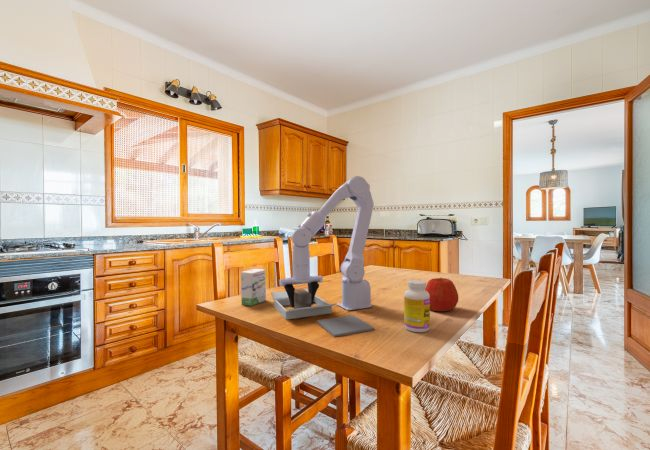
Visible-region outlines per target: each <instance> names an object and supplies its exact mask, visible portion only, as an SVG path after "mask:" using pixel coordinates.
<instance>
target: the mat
mask: <svg viewBox="0 0 650 450" xmlns="http://www.w3.org/2000/svg"><path fill="white" fill-rule="evenodd" d="M316 323H317V324H318V325H319V326H320V327H321V328H322V329H323V330H325V331H326V332H328V334H329V335H331V336H332V337H334V338H337V337H341V336H342V337H343V336H348V335H353V334H359V333H364V332H369V331H370V332H371V331H375V327H374V326H372V325H371V324H369V323H368V322H366V321H364V320H362V319H361V318H359V317H358V316H356V315H354V314H351V315H345V316H339V317H337V316H336V317H331V318H326V319H317V320H316Z"/></svg>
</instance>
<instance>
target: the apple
mask: <svg viewBox="0 0 650 450" xmlns="http://www.w3.org/2000/svg"><path fill="white" fill-rule="evenodd" d="M455 285H456V284H454V282H453V281H452V280H451V279H449V278H442V277H437V278H431V279H429V280H428V282H426V288H425V291H427V292H428V293H429V295H430V311H432V312H449V311H452V310H454V309H455V308H456V307H457V304H458V303H459V292H458V290H457V288H456V286H455Z"/></svg>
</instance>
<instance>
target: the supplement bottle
mask: <svg viewBox="0 0 650 450" xmlns="http://www.w3.org/2000/svg"><path fill="white" fill-rule="evenodd" d="M426 285H427V282H426V281H425V280H420V279H409V280H408V281H407V287H408V289H407V290H406V291H404V293H403V294H404V295H403V296H404V297H403V298H404V301H403V302H404V304H403V305H404V310H403V311H404V314H403V315H404V318H403V319H404V320H403V321H404V328H405V329H406V330H408V331H410V332H413V333H426V332H428V331H429V330H430V328H431V327H430V326H431V313H430V312H431V310H430V295H429V293H428V292H427V291H425V288H426Z"/></svg>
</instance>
